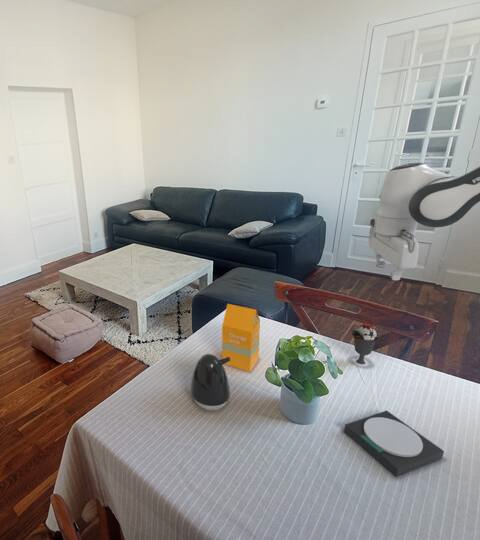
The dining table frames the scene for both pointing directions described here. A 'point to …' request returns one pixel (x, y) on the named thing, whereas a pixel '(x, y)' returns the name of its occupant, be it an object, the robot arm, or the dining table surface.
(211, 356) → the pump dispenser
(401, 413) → the dining table surface
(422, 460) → the scale
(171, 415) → the dining table surface
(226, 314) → the orange juice
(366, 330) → the sundae
